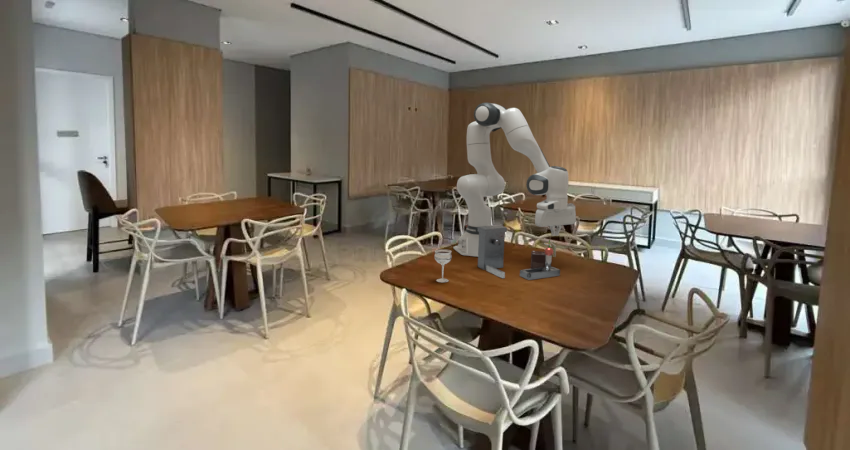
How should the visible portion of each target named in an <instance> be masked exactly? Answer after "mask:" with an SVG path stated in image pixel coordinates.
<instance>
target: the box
mask: <svg viewBox="0 0 850 450" xmlns="http://www.w3.org/2000/svg"><path fill="white" fill-rule="evenodd" d="M530 253H531V256H530V269H532V268H540V267H545V260H546V254H545V251H541V250H540V251H538V250H537V251H536V250H532V251H531V252H530Z"/></svg>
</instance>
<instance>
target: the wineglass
mask: <svg viewBox="0 0 850 450" xmlns="http://www.w3.org/2000/svg"><path fill="white" fill-rule="evenodd" d="M452 258H453V257H452V250H450V249H444V248H443V249H441V248H440V249H436V250H434V260H435V261H436V262H437V264H440V265H441V278H438V279H436V280H435V281H436V282H438V283H448V282H449V279H447V278H444V268H445V266H446V265H447V264H448V263H450V262H451V260H452Z"/></svg>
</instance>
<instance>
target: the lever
mask: <svg viewBox="0 0 850 450" xmlns="http://www.w3.org/2000/svg"><path fill="white" fill-rule="evenodd" d="M544 252H545V254H546V260H545V268H544V269H542V271H547V270H554V269H551V266H552V258H553V257H552V254H553V249H552V248H550V247H548V248H547V247H545V249H544Z"/></svg>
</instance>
